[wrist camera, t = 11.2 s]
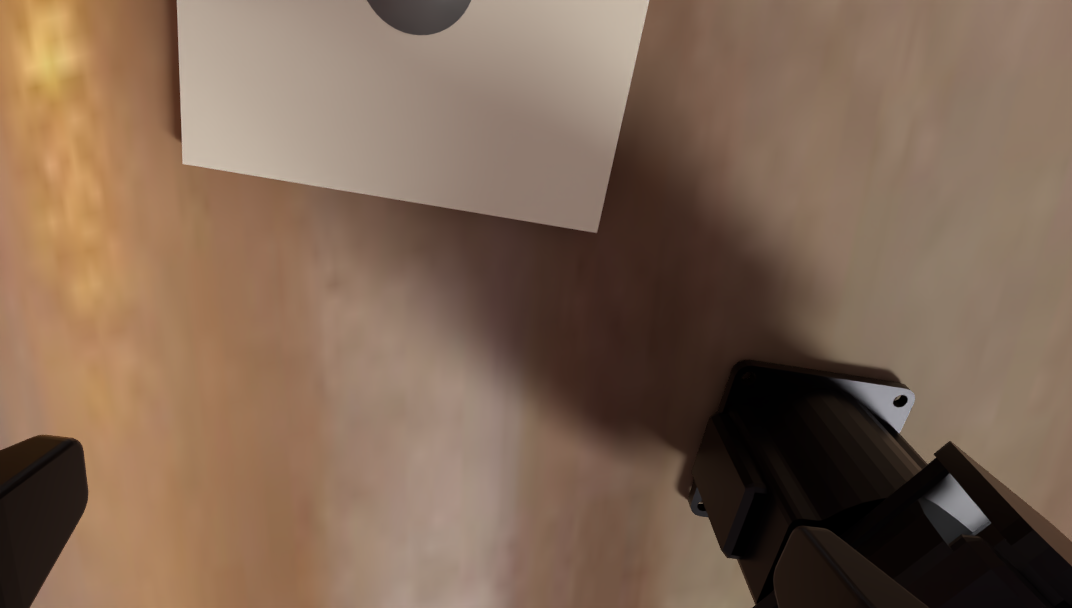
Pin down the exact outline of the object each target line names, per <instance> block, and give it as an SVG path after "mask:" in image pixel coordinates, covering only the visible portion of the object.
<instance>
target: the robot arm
mask: <svg viewBox="0 0 1072 608" xmlns="http://www.w3.org/2000/svg"><path fill="white" fill-rule="evenodd" d="M747 372H752V375H751V376H750V377H749V378H747V379H742V376H743V375H744V374H745V373H747ZM899 395H901V397H900V398H899V399H898V400H896V401H893V400H894V399H895V397H897V396H899ZM914 401H915V396H914V393H913V392H912V391H911V390H910V389H909V388H908V387H907V386H906V385H904V384H901V383H897V382H891V381H884V380H877V379H871V378H864V377H858V376H851V375H845V374H838V373H832V372H825V371H818V370H812V369H805V368H799V367H792V366H786V365H779V364H773V363H766V362H759V361H753V360H743V361H740V362H738V363H737V364H736V365H734V367H733V368H732V370H731V373H730V376H729V379H728V382H727V385H726V388H725V391H724V394H723V397H722V399H721V402H720V405H719V408H718V411H717V412H716V413H715V414H713V415H712V416H711V417H710V418H709V421H708V424H707V427H706V430H705V433H704V436H703V439H702V442H701V445H700V448H699V451H698V454H697V457H696V460H695V463H694V466H693V469H692V475H693V478H694V482H693V485H692V488H691V491H690V494H689V497H688V502H689V505H690V508H691V510H692V512H693V513H694V514H695V515H698V516H703V517H709V520H710V522H711V525H712V527H713V530H714V533H715V535H716V538H717V540H718V543H719V546H720V548H721V550H722V552H723V553H724V554H725V556H726V557H727V558H732V559H737V560H738V563H739V565H740V568H741V570H742V573H743V575H744V578H745V580H746V583H747V585H748V588H749V590H750V592H751V595H752V597H753V600H754V602H755V606H754V607H753V608H1072V542H1071V541H1070V540H1069V539H1068V538H1067V537H1066V536H1065V535H1064V534H1062V533H1061V532H1060V531H1059V530H1058V529H1057V528H1056V527H1055V526H1054V525H1052V524H1051V523H1050V522H1049V521H1048V520H1046V519H1045V518H1044V517H1043V516H1042V515H1040V514H1039V513H1038V512H1037V511H1035V510H1034V509H1033V508H1032V507H1031V506H1029V505H1028V504H1027V503H1026V502H1024V501H1023V500H1022V499H1021V498H1020V497H1018V496H1017V495H1016V494H1015V493H1013V492H1012V491H1011V490H1010V489H1009V488H1007V487H1006V486H1005V485H1004V484H1002V483H1001V482H1000V481H999V480H997V479H996V478H995V477H994V476H993V475H991V474H990V473H989V472H988V471H986V470H985V469H984V468H983V467H982V466H980V465H979V464H978V463H977V462H975V461H974V460H973V459H972V458H971V457H969V456H968V455H967V454H966V453H964V452H963V451H962V450H961V449H960V448H958V447H957V446H956V445H955V444H953V443H952V442H951V441H949V442H948V443H947V444H945V445H944V446H943V447H942V448H941V449H939V450H938V451H937V452H936V453H934V455H935V456H936V458H935V459H934V460H933V461H932V462H930V463H929V464H927V463H926V462H925V461H924V460H923V459H922V458H921V457H920V456H919V454H918V453H917V452H916V451H915V450H914V449H913V448H912V447H911V446H910V445H909V444H908V443H907V442H906V440H905V439H904V438H903V437H902V436H901V435H900V434H899V433H900V431H901V429H902V427H903V425H904V423H905V421H906V419H907V417H908V414H909V412H910V410H911V408H912V406H913V404H914ZM87 501H88V485H87V476H86V468H85V460H84V451H83V447H82V445H81V443H80V442H79V441H78V440H76V439H74V438H68V437H60V436H52V435H38V436H35V437H32V438H29V439H27V440H25V441H22V442H20V443H17V444H15V445H12V446H10V447H8V448H5V449H3V450H0V608H30V606H31V605H32V603H33V601H34V599H35V597H36V596H37V594H38V592H39V590H40V589H41V587H42V585H43V583H44V582H45V580H46V578H47V576H48V575H49V573H50V571H51V569H52V568H53V566H54V564H55V562H56V561H57V559H58V557H59V555H60V553H61V552H62V550H63V548H64V546H65V545H66V543H67V541H68V539H69V538H70V536H71V534H72V532H73V531H74V529H75V527H76V525H77V524H78V522H79V520H80V518H81V517H82V515H83V513H84V510H85V508H86V505H87ZM701 501H703V504H698V503H699V502H701Z"/></svg>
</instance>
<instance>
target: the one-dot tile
mask: <svg viewBox="0 0 1072 608" xmlns="http://www.w3.org/2000/svg"><path fill="white" fill-rule="evenodd" d="M648 3H649V0H177V20H178V48H179V75H180V103H181V131H182V158H183V164H187V165H193V166H199V167H205V168H211V169H217V170H223V171H229V172H235V173H241V174H247V175H253V176H259V177H265V178H271V179H277V180H283V181H289V182H295V183H301V184H307V185H313V186H318V187H324V188H330V189H336V190H342V191H348V192H354V193H360V194H366V195H372V196H378V197H384V198H390V199H396V200H402V201H408V202H414V203H420V204H426V205H432V206H438V207H444V208H450V209H456V210H462V211H468V212H474V213H480V214H486V215H492V216H498V217H504V218H510V219H516V220H522V221H528V222H534V223H540V224H546V225H552V226H558V227H564V228H570V229H576V230H582V231H588V232H594V233H597V231H598V226H599V222H600V217H601V213H602V209H603V204H604V200H605V195H606V191H607V186H608V182H609V177H610V173H611V168H612V164H613V159H614V155H615V151H616V146H617V142H618V137H619V133H620V128H621V124H622V119H623V115H624V110H625V106H626V102H627V97H628V93H629V88H630V84H631V79H632V75H633V70H634V66H635V61H636V57H637V52H638V48H639V44H640V39H641V35H642V30H643V26H644V21H645V17H646V12H647V8H648Z"/></svg>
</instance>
